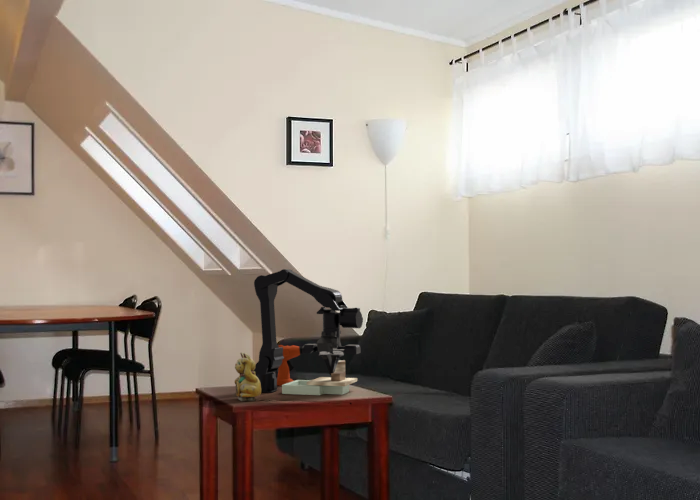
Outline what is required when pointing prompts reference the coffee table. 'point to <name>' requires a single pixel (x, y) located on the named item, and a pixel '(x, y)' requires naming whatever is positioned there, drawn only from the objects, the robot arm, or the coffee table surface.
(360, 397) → the coffee table surface
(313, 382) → the lid
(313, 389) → the pale green tray
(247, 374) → the decorative figurine
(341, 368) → the cream upright cylinder
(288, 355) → the toy drill
